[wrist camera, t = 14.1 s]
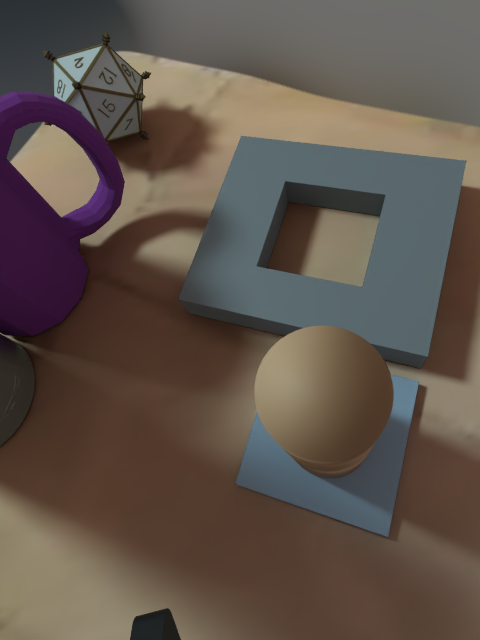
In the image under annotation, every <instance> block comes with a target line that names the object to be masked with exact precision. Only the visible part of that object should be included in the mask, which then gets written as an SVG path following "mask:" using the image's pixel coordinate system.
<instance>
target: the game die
mask: <svg viewBox="0 0 480 640" xmlns="http://www.w3.org/2000/svg"><path fill="white" fill-rule="evenodd" d="M109 39H110V37H109V35H108V33H107V32H106V33H105V34H104V35H103V39H102V40H103V44H100V45H97V46H93V47H90V48H86V49H83V50H80V51H76V52H73V53H69V54H66V55H62V56H59V57H53V55H52V54H51V53H50V51H43V53H44V55H45V57H47V58H48V60H51V61H52V64H53V65H52V68H53V69H52V70H53V96H55V97H57V98H59V99H60V100H62V101H64V102H66V103H67V104H69V105H71V106H73V107H74V108H76V109H77V110H78V111H79V112H80V113H81V114H82V115H83V116H84V117H85V118H86V119H87V120H88V121H89V122H90V123H91V124H92V125H93V126H94V127H95V128H96V129H97V130H98V131H99V132H100V133H101V134H102V136H103V137H104V139H105V141H106V142H110V141H114V140H118V139H121V138H125V137H129V136H132V135H136V134H140V135H141V137H143V139H149V138H148V135H147V133H145V132H143V131H142V101H143V100H144V98H145V96H144V95H143V79H147V78H149V76H150V74H151V73H149V72H146V71H145V73H144V72H143V74H142V75H140V74H139V73H138V72H137V71H136V70H135V69H133V68H132V67H131V66H130V65H129V64H128V63H127V62H126V61H125V60H123V59H122V58H121V57H120V56H119V55H118V54H117V53H116V52H115V51H114V50H112V49H111V48H110V47H109V46H108V43H109V42H110V41H109ZM45 125H50V126H51V125H52V124H50V123H46V122H45Z"/></svg>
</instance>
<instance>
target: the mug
mask: <svg viewBox="0 0 480 640" xmlns="http://www.w3.org/2000/svg"><path fill="white" fill-rule="evenodd" d="M41 121H43V122H46V123H50V124H53V125H55V126H57V127H59V128H60V129H62V130H64V131H65V132H67V133H68V134H69V135H70V136H71V137H72V138H73V139H74V140H75V141H76V142H77V143H78V144H79V145H80V146H81V147H82V148H83V150H84V151H85V153H86V154H87V156H88V157H89V159H90V160H91V162H92V163H93V165H94V166H95V168H96V170H97V173H98V175H99V178H100V180H99V183H98V186H97V190H96V191H95V193H94V194H93V196H92V197H91V199H90V200H89V202H88V203H87V204H86V205H84V206H82V207H81V208H79V209H76V210H74V211H72V212H71V213H69V214H67V215H65V216H63V217H60V216H59V215H58V214H57V212H56V211H55V210H54V209H53V208H52V207H51V206H50V205H49V204H48V203H47V202H46V201H45V200H44V198H43V197H42V196H41V195H40V194H39V193H38V192H37V191H36V190H35V189H34V188H33V187H32V186H31V185H30V183H29V182H28V181H27V180H26V179H25V178H24V177H23V176H22V175H21V174H20V173H19V172H18V171H17V169H16V168H15V167H14V166H13V165H12V164H11V163H10V162H9V161H8V160H7V159H6V158H7V154H8V151H9V148H10V145H11V142H12V138H13V135H14V133H15V130H17V129H19V128H21V127H23V126H25V125H27V124H29V123H35V122H41ZM124 183H125V181H124V178H123V175H122V172H121V169H120V166H119V163H118V160H117V159H116V157H115V155H114V154H113V152H112V150H111V149H110V147H109V145H108V144H107V142H106V141H105V139H104V137H103V136H102V134H101V133H100V132H99V131H98V130H97V129H96V128H95V127H94V126H93V125H92V124H91V123H90V122H89V121H88V120H87V119H86V118H85V117H84V116H83V115H82V114H81V113H80V112H79V111H78V110H77V109H76V108H74V107H73V106H71V105H69V104H67V103H66V102H64V101H62V100H60V99H59V98H57V97H55V96H51V95H46V94H40V93H35V92H24V91H13V92H11V93H8V94H6V95H4V96H2V97H0V333H2V334H4V335H19V336H35V335H37V334H39V333H41V332H43V331H45V330H47V329H49V328H51V327H53V326H55V325H57V324H59V323H61V322H62V321H63V320H64V319H65V318H66V316H67V315H68V314H69V313H70V311H71V310H72V309H73V308H74V306H75V305H76V304H77V303H78V302H79V300H80V299H81V298H82V294H83V290H84V286H85V282H86V278H87V274H88V268H87V265H86V262H85V260H84V258H83V257H82V256H81V254H80V253H79V245H80V239H82V238H84V237H86V236H89V235H91V234H93V233H95V232H96V231H97V230H98V229H100V228H101V227H102V226H103V225H104V224H105V223H107V222H108V221H109V220H110V218H111V217H112V216H113V214H114V213H115V212H116V210H117V209H118V208H119V206H120V205H121V200H122V194H123V189H124Z"/></svg>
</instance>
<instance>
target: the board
mask: <svg viewBox="0 0 480 640" xmlns="http://www.w3.org/2000/svg"><path fill="white" fill-rule="evenodd" d="M465 165H466V161H463V160H454V159H445V158H436V157H427V156H418V155H409V154H400V153H391V152H382V151H372V150H363V149H354V148H345V147H336V146H327V145H318V144H309V143H300V142H291V141H282V140H273V139H264V138H255V137H246V136H241V138H240V140H239V143H238V146H237V148H236V151H235V153H234V156H233V159H232V161H231V164H230V166H229V169H228V171H227V174H226V177H225V179H224V182H223V184H222V187H221V190H220V192H219V195H218V197H217V200H216V202H215V205H214V208H213V210H212V213H211V215H210V218H209V221H208V223H207V226H206V228H205V231H204V233H203V236H202V239H201V241H200V244H199V246H198V249H197V252H196V254H195V257H194V259H193V262H192V264H191V267H190V270H189V272H188V275H187V277H186V280H185V283H184V285H183V288H182V290H181V293H180V295H179V298H178V300H179V301H180V302H181V304H182V305H183V306H184V307H185V309H186V310H187V311H188V313H190V314H194V315H198V316H203V317H207V318H211V319H215V320H219V321H224V322H228V323H232V324H236V325H240V326H245V327H249V328H253V329H257V330H261V331H266V332H270V333H274V334H278V335H282V336H286V335H288V334H290V333H292V332H294V331H296V330H299V329H302V328H306V327H311V326H334V327H339V328H343V329H346V330H349V331H351V332H353V333H355V334H357V335H359V336H361V337H362V338H364V339H365V340H366V341H368V342H369V343H370V344H371V345H372V346H373V347H374V348H375V349H376V350H377V351H378V352H379V354H380V355H381V356H382V358H383V359H384V360H387V361H391V362H396V363H400V364H404V365H408V366H412V367H416V368H421V367H422V365H423V364H424V362H425V361H426V359H427V357H428V353H429V348H430V343H431V338H432V333H433V328H434V323H435V318H436V313H437V308H438V302H439V297H440V292H441V287H442V282H443V277H444V272H445V267H446V262H447V256H448V251H449V246H450V241H451V236H452V231H453V226H454V221H455V216H456V210H457V205H458V200H459V195H460V190H461V185H462V180H463V175H464V170H465ZM289 202H292V203H298V204H305V205H312V206H318V207H325V208H332V209H338V210H345V211H352V212H358V213H365V214H371V215H378V216H380V219H379V223H378V227H377V231H376V235H375V239H374V243H373V247H372V251H371V255H370V259H369V263H368V266H367V270H366V274H365V278H364V282H363V286H362V287H359V286H354V285H349V284H344V283H339V282H334V281H328V280H323V279H318V278H313V277H308V276H303V275H298V274H293V273H288V272H283V271H278V270H272V269H267V266H268V263H269V260H270V257H271V254H272V251H273V248H274V245H275V242H276V239H277V236H278V233H279V230H280V227H281V224H282V221H283V218H284V215H285V212H286V209H287V206H288V203H289Z"/></svg>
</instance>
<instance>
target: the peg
mask: <svg viewBox="0 0 480 640" xmlns="http://www.w3.org/2000/svg"><path fill="white" fill-rule="evenodd" d="M254 398H255V405H256V409H257V412H258V415H259V418H260V420H261V422H262V424H263V426H264V427H265V429H266V431H267V432H268V433H269V434H270V436H271V437H272V438H273V439H274V440H275V441H276V442H277V443H278V444H279V445H280V446H281V447H282V448H283V449H284V450H285V451H286V452H287V453H288V454H289V455H290V456H291V457H292V458H293V459H294V460H295V461H296V462H297V463H298V464H299V465H300V466H301V467H302V468H303V469H304V470H306V471H307V472H309V473H311V474H313V475H315V476H318V477H322V478H340V477H343V476H346V475H348V474H350V473H352V472H353V471H355V470H356V469H357V468H358V467H360V465H361V464H362V463H363V462H364V460H365V459H366V457H367V455H368V454H369V452H370V451H371V449H372V447H373V446H374V444H375V443H376V441H377V439H378V438H379V436H380V435H381V433H382V431H383V430H384V428H385V426H386V425H387V422H388V420H389V418H390V415H391V411H392V407H393V400H394V390H393V382H392V378H391V375H390V372H389V369H388V367H387V365H386V363H385V361H384V359H383V358H382V356H381V355H380V354H379V352H378V351H377V350H376V349H375V348H374V347H373V346H372V345H371V344H370V343H369V342H368V341H366V340H365V339H364V338H362V337H361V336H359V335H357V334H355V333H353V332H351V331H349V330H346V329H343V328H339V327H334V326H311V327H306V328H302V329H299V330H296V331H294V332H292V333H290V334H288V335H286V336H285V337H283V338H282V339H280V340H279V341H278V342H277V343H276V344H274V345H273V347H272V348H271V349H270V350H269V351H268V352H267V354H266V355H265V357H264V358H263V360H262V362H261V364H260V366H259V369H258V371H257V375H256V379H255V386H254Z"/></svg>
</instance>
